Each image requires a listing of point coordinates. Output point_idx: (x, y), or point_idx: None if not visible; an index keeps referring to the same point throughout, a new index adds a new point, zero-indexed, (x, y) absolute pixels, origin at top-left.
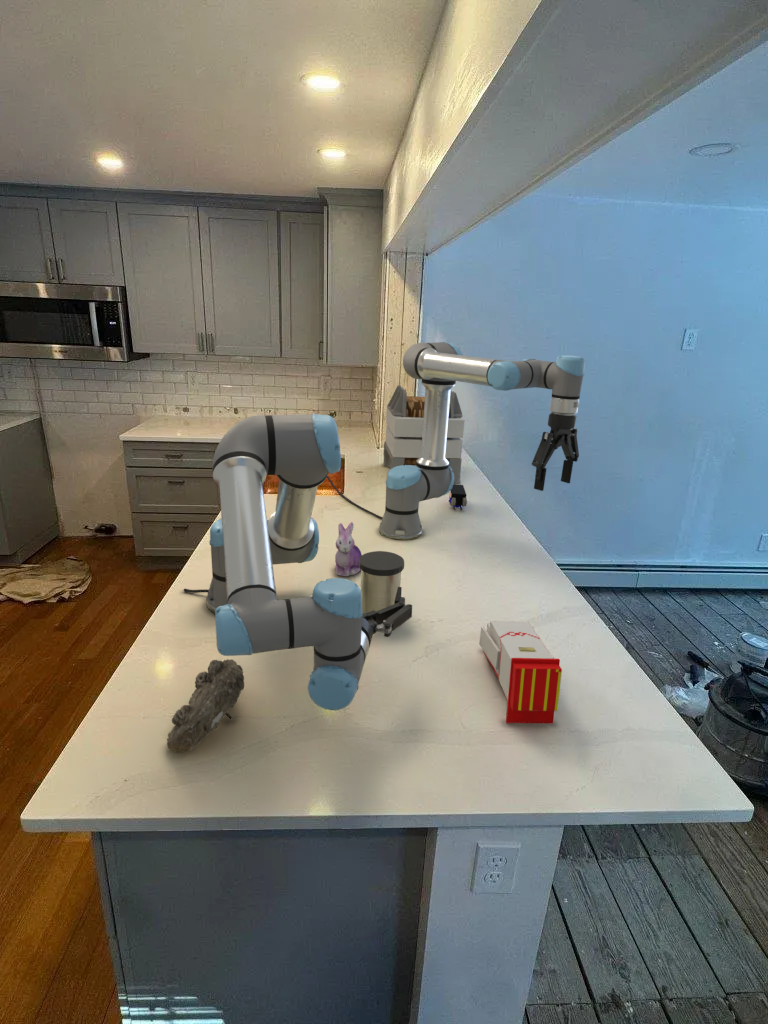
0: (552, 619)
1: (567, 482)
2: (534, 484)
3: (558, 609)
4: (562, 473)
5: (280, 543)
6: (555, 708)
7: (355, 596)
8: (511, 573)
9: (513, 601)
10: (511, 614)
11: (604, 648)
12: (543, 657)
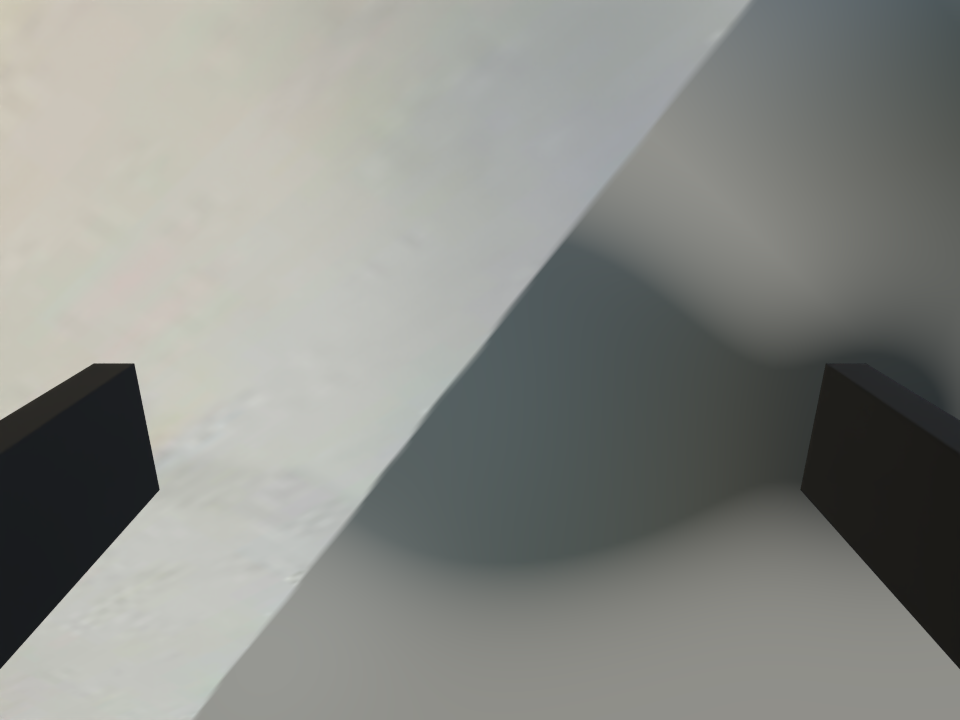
0: (181, 492)
1: (808, 476)
2: (49, 392)
3: (261, 467)
4: (907, 433)
5: None
6: None
7: None
8: (348, 142)
9: (144, 328)
10: None
11: (194, 661)
12: None
